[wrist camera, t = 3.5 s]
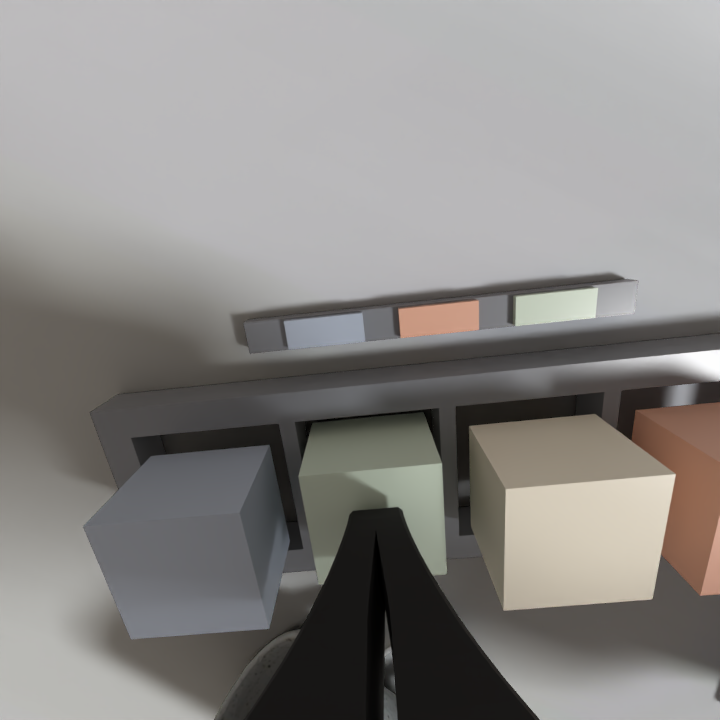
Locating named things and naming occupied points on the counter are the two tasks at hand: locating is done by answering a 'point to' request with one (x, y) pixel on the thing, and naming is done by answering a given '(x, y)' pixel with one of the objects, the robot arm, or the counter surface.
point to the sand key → (567, 511)
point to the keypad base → (399, 408)
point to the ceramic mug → (264, 669)
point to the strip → (442, 316)
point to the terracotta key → (688, 486)
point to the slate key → (194, 543)
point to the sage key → (373, 482)
